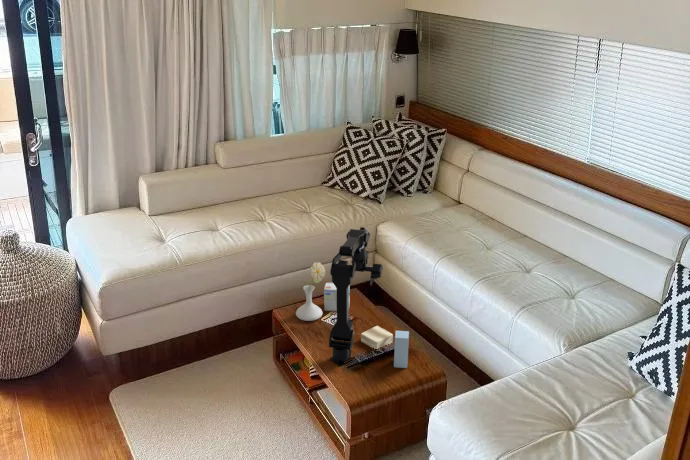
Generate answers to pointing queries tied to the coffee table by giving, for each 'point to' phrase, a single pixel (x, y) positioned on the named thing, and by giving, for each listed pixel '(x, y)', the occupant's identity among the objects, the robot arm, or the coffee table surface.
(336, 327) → the robot arm
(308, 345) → the coffee table surface
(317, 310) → the flower in vase
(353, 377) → the coffee table surface
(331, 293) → the light bulb box
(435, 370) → the coffee table surface
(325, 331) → the coffee table surface
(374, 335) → the maple block
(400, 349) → the blue pillar
